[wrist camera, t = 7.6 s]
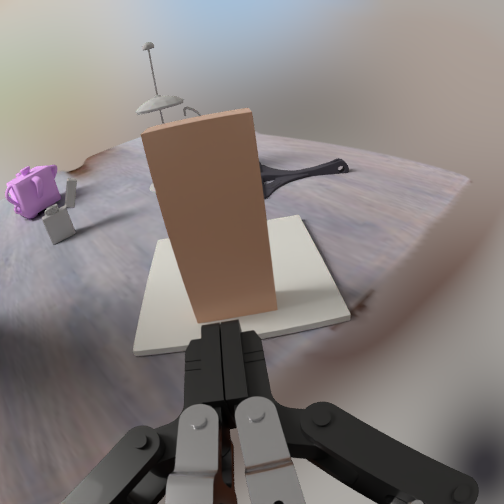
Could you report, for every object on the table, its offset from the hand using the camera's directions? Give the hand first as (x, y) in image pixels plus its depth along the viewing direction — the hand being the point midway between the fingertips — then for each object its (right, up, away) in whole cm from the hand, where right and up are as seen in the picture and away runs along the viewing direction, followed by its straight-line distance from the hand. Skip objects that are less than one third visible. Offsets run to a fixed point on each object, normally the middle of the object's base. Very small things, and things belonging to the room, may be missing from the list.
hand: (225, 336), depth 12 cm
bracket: (+9, +14, +35) cm, 38 cm away
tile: (0, -1, +11) cm, 11 cm away
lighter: (-26, +6, +30) cm, 40 cm away
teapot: (-45, +13, +45) cm, 65 cm away
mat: (-1, +1, +16) cm, 16 cm away
